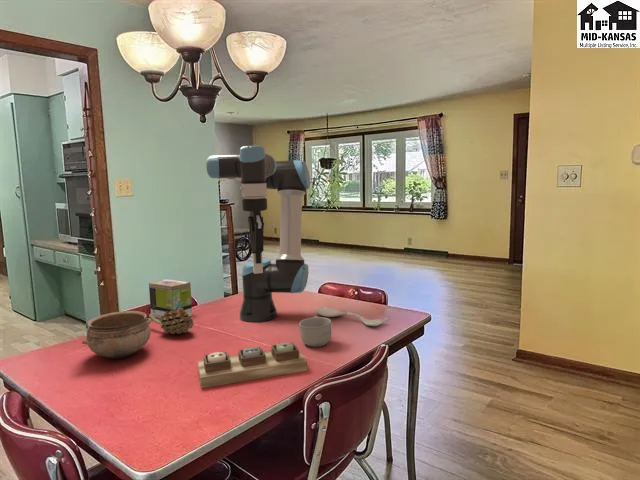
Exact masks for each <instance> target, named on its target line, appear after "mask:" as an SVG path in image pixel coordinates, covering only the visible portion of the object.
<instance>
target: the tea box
mask: <svg viewBox="0 0 640 480" xmlns="http://www.w3.org/2000/svg"><path fill="white" fill-rule="evenodd" d="M148 289H149V293H148V294H149V304H150V314H151V315H153V317H154V318H156V319H160V318H161V316H162V315H164V314H165V313H166V312H167V311H168V312H170V311H172V309H176V310H177V309H178V308H183V310H184V311H186V310H187V313H189V314H191V317H192V315H193V306H192V305H193V304H192V291H191V290H192V287H191V282H190V281H184V280H178V279H168V278H167V279H166V278H165V279H161V280H158V281H157V280H156V281H153V282H149V283H148Z"/></svg>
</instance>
